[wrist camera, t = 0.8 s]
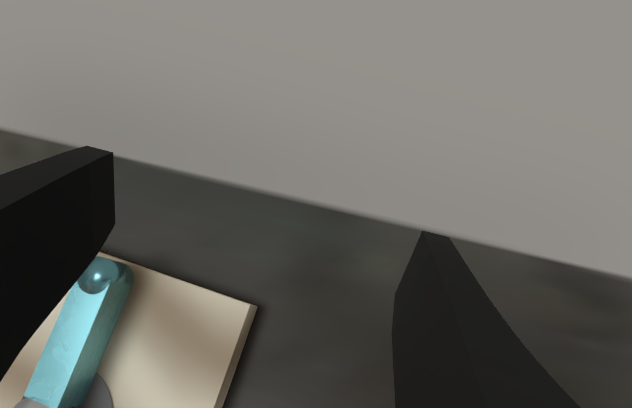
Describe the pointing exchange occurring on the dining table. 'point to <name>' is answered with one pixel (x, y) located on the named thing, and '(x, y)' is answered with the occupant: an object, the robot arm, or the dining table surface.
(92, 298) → the teal rounded rod
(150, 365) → the latch board
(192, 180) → the dining table surface
